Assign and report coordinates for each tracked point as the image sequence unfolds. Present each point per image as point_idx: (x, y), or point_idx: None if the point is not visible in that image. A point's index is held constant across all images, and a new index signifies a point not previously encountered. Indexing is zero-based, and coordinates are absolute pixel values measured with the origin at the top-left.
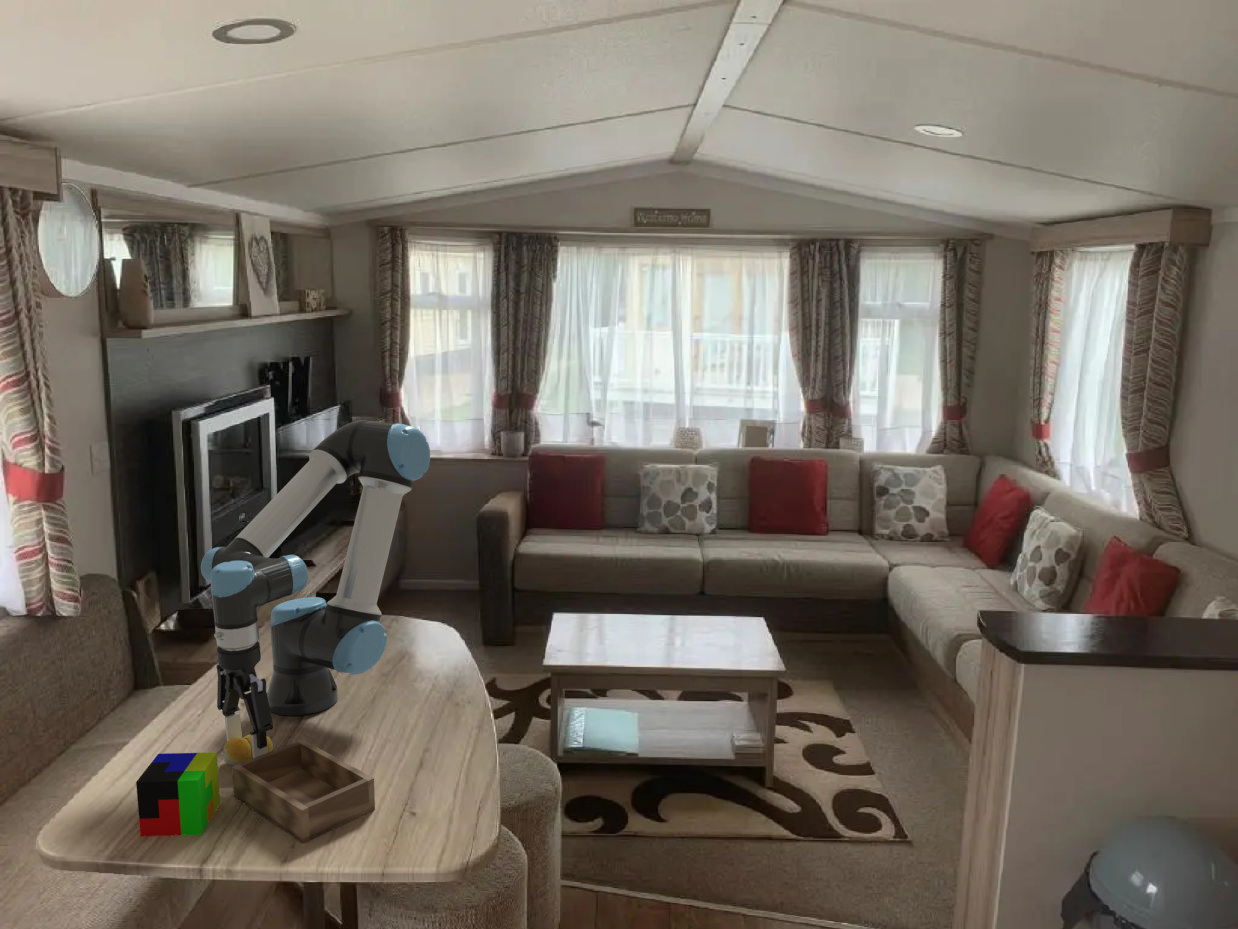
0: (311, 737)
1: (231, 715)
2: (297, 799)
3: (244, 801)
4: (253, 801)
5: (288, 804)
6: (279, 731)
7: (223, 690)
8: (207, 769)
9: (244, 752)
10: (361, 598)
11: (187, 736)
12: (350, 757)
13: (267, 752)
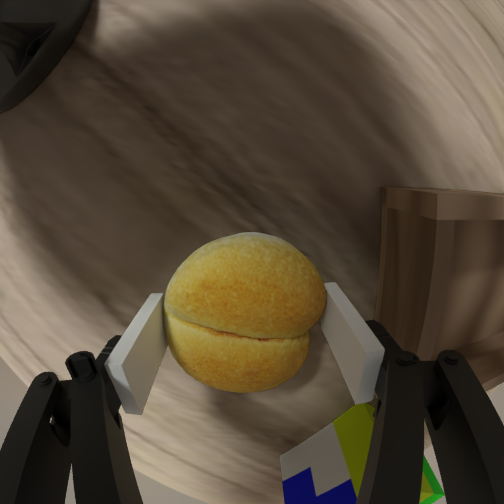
0: (205, 60)
1: (122, 394)
2: (483, 291)
3: None
4: None
5: None
6: (97, 122)
7: (56, 492)
8: (426, 488)
9: (300, 361)
10: None
11: (17, 315)
12: (403, 67)
13: (344, 295)
